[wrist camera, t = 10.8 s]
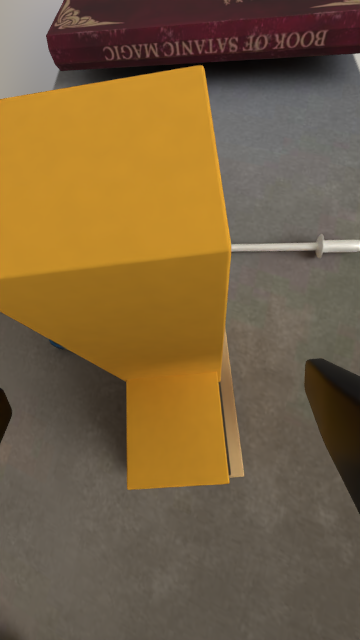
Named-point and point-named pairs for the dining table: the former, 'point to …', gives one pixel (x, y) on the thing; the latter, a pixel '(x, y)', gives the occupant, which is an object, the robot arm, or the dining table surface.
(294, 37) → the book
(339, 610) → the dining table surface
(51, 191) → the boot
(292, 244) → the rivet
